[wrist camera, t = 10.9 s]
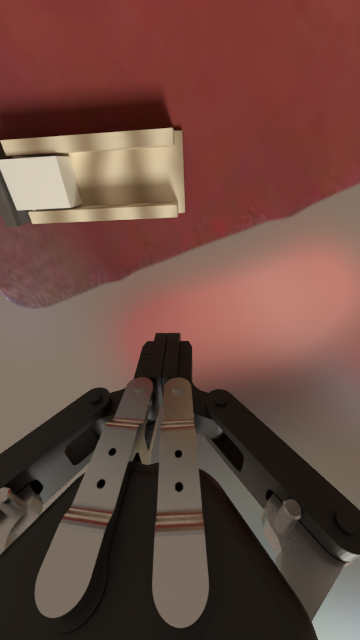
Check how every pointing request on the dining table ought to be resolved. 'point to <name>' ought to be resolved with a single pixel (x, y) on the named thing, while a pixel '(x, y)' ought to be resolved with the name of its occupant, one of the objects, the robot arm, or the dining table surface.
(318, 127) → the dining table surface
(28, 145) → the birch chute
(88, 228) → the dining table surface
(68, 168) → the off-white block
